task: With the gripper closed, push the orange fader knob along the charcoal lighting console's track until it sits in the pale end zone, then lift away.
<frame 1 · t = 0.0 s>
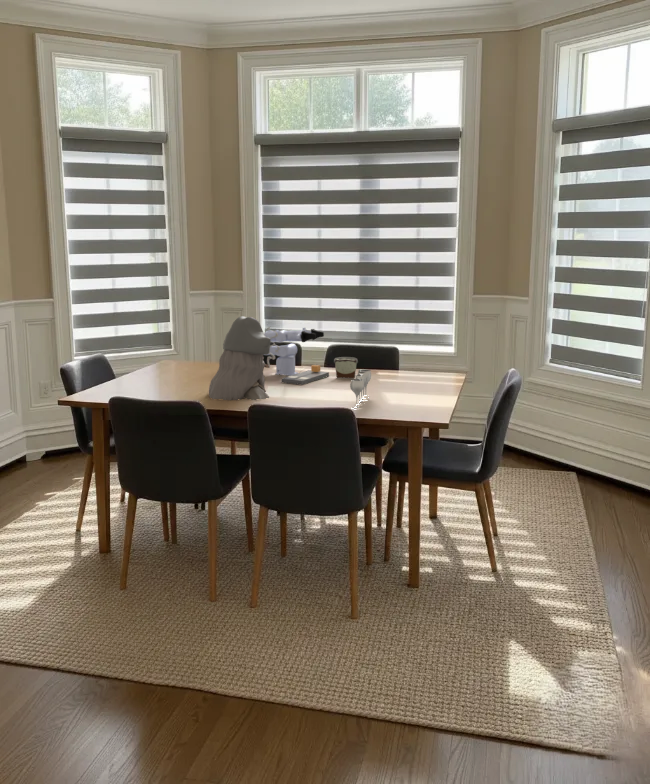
hand: (319, 335, 369), 22 cm above the table, tool horizontal, fingers open, 7 cm apart
food container: (346, 377, 375), on the table
console: (305, 379, 369), on the table
fader: (315, 368, 377), point 4 cm above the table, slide at 0.0 cm
goblet set: (361, 402, 319), on the table
bust: (241, 393, 337), on the table
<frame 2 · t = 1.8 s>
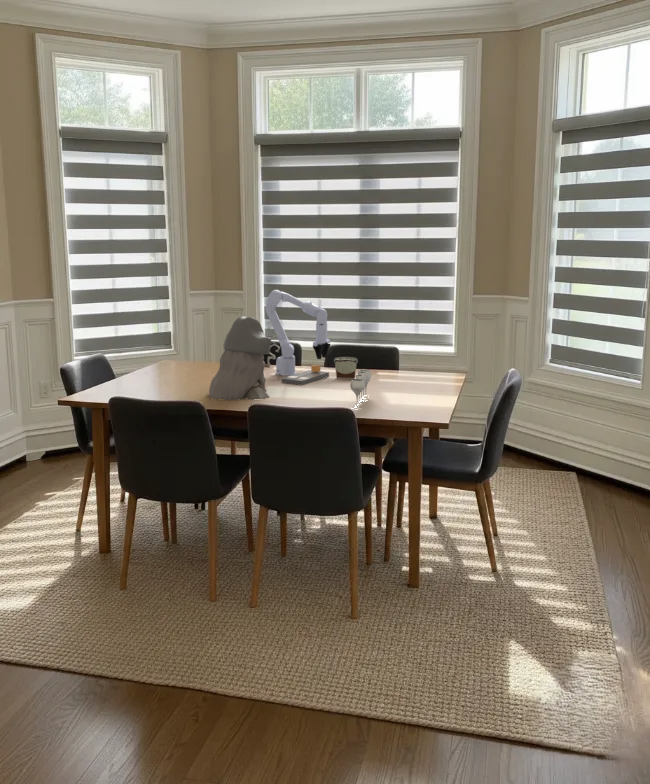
hand: (321, 358, 381), 8 cm above the table, tool pointing down, fingers open, 5 cm apart
nothing on the table moved.
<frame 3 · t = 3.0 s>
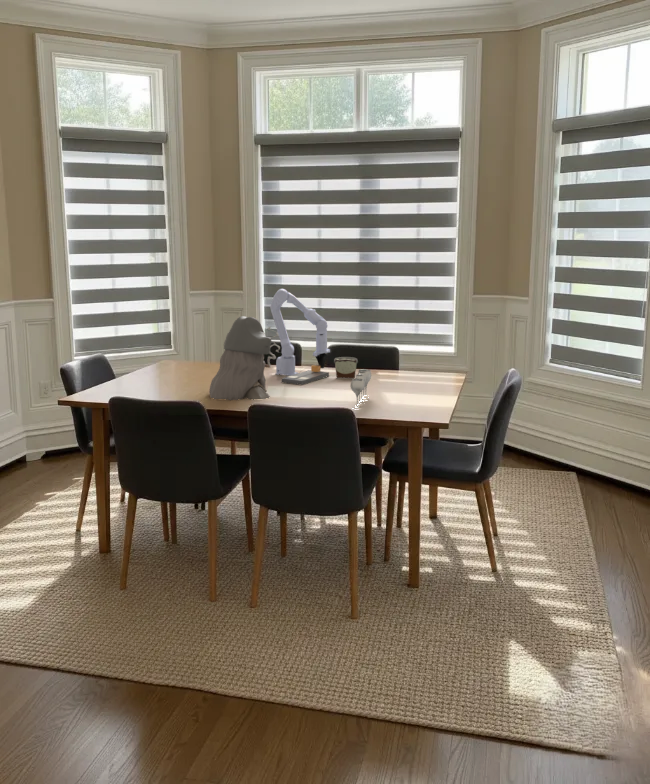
hand: (321, 368, 382), 3 cm above the table, tool pointing down, fingers closed
nothing on the table moved.
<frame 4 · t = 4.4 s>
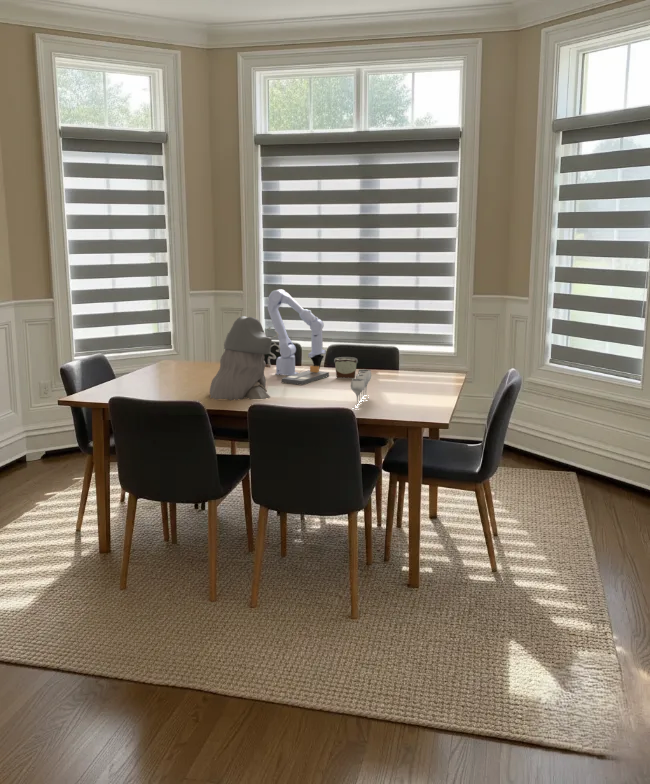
hand: (317, 369, 378), 3 cm above the table, tool pointing down, fingers closed
fader: (314, 368, 376), point 4 cm above the table, slide at 1.2 cm, touching gripper
everything else where it was.
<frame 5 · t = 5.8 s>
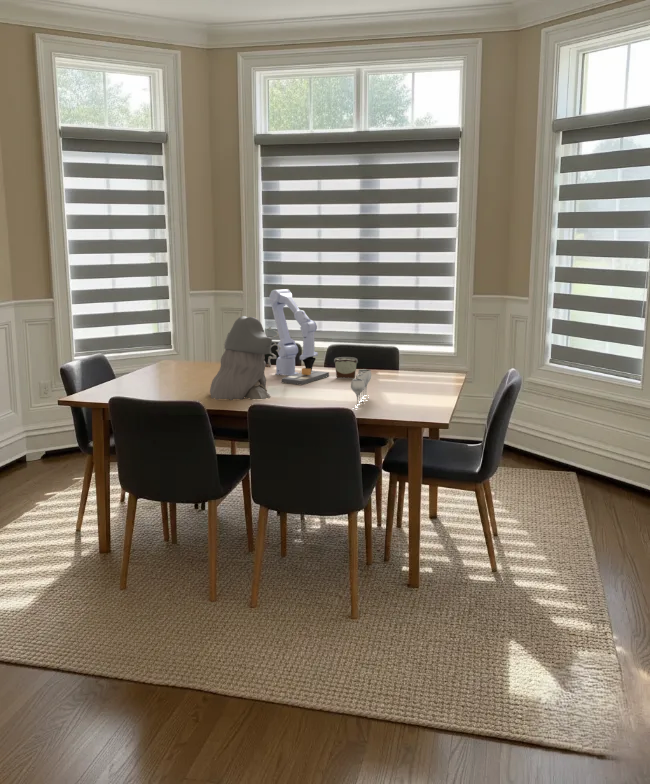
hand: (308, 371, 371), 3 cm above the table, tool pointing down, fingers closed
fader: (306, 371, 369), point 4 cm above the table, slide at 9.3 cm, touching gripper
everything else where it was.
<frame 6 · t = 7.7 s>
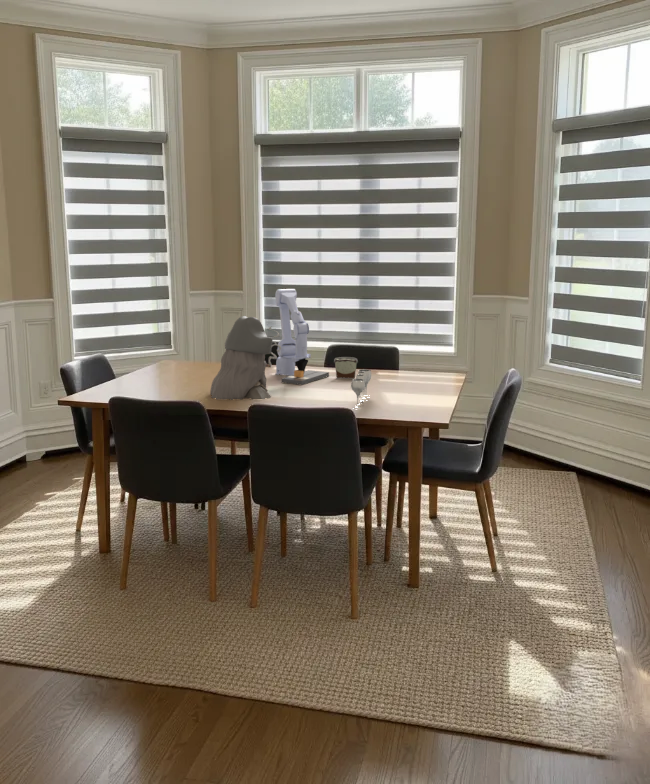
hand: (301, 374, 365), 3 cm above the table, tool pointing down, fingers closed
fader: (298, 373, 363), point 4 cm above the table, slide at 16.4 cm, touching gripper
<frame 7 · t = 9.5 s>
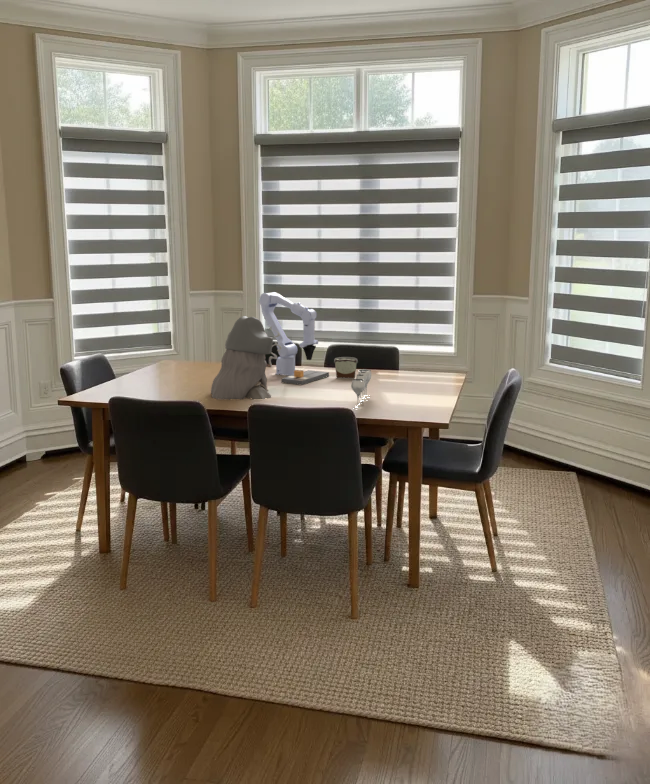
hand: (309, 359, 374), 9 cm above the table, tool pointing down, fingers closed
fader: (298, 373, 363), point 4 cm above the table, slide at 16.5 cm
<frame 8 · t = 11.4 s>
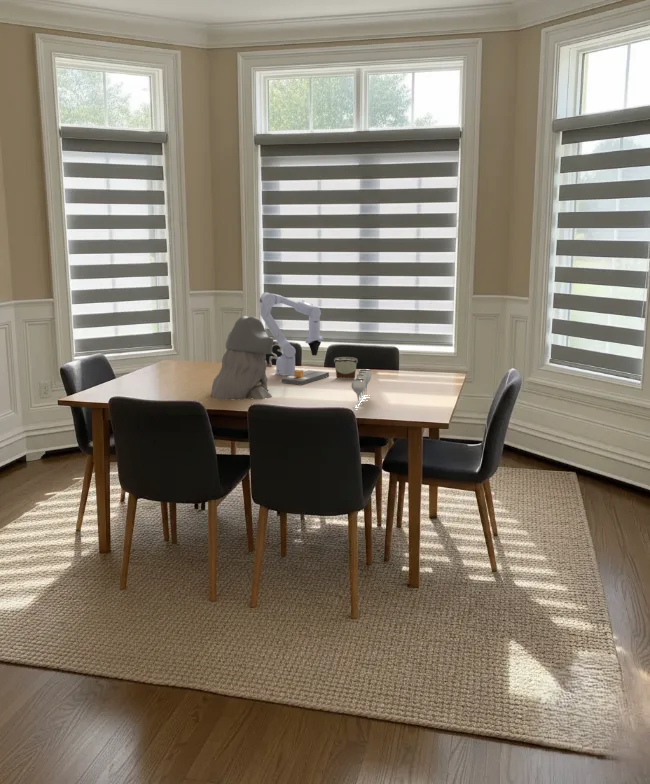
hand: (314, 355, 384), 9 cm above the table, tool pointing down, fingers closed
at the end: fader slide at 16.5 cm; food container moved 0.2 cm from its start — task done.
